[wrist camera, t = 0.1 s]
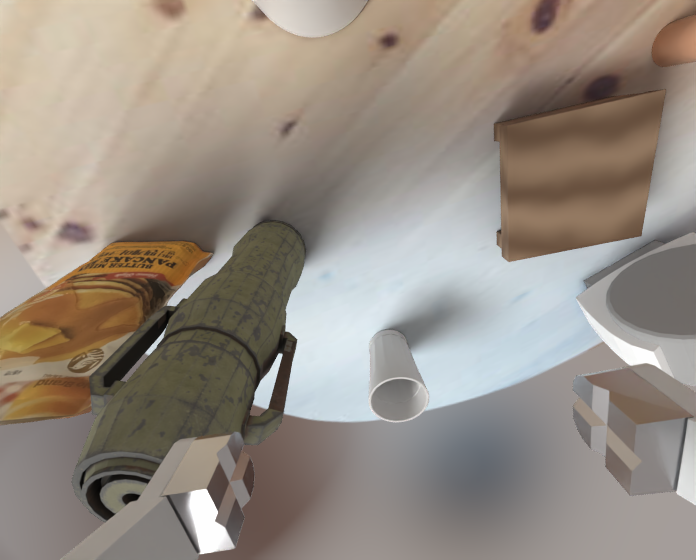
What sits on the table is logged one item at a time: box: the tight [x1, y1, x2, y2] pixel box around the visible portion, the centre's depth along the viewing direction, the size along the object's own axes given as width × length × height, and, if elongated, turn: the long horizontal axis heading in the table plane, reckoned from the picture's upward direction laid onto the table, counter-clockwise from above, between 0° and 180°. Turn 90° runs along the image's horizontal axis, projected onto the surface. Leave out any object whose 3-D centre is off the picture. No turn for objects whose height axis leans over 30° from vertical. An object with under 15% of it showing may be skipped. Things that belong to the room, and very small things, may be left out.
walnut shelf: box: [494, 89, 666, 262], centre depth 41 cm, size 16×16×6 cm
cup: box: [369, 330, 429, 422], centre depth 49 cm, size 8×8×12 cm
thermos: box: [72, 220, 306, 522], centre depth 31 cm, size 9×12×35 cm
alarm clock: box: [576, 232, 696, 386], centre depth 40 cm, size 18×8×20 cm, turn 128°
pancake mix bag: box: [0, 241, 214, 425], centre depth 35 cm, size 7×19×28 cm, turn 91°
